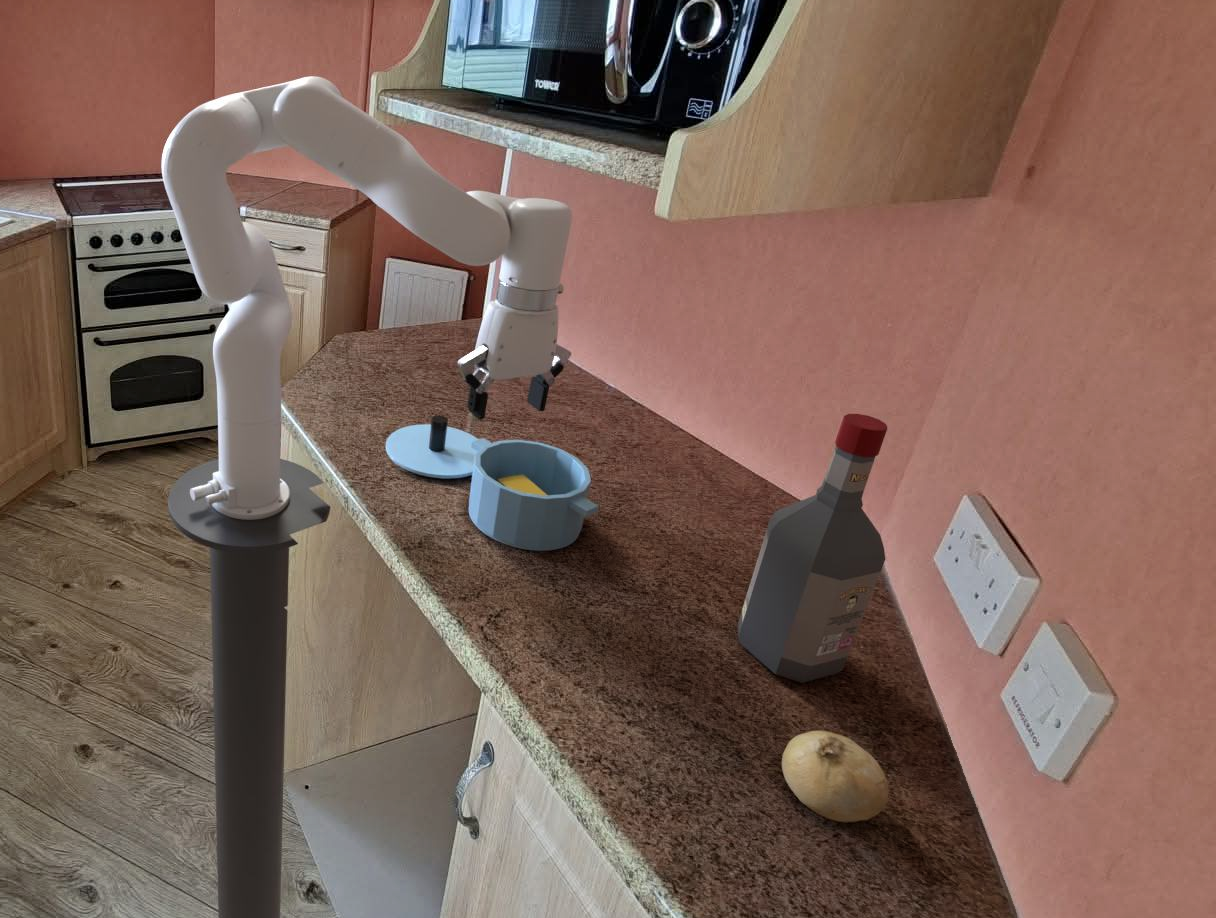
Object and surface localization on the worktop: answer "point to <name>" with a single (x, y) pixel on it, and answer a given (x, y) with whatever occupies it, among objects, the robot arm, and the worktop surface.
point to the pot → (528, 514)
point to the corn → (521, 484)
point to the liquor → (818, 566)
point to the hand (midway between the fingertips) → (505, 410)
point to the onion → (834, 776)
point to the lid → (433, 449)
